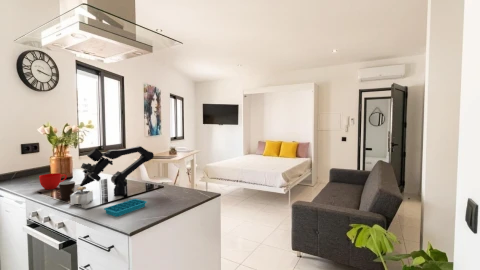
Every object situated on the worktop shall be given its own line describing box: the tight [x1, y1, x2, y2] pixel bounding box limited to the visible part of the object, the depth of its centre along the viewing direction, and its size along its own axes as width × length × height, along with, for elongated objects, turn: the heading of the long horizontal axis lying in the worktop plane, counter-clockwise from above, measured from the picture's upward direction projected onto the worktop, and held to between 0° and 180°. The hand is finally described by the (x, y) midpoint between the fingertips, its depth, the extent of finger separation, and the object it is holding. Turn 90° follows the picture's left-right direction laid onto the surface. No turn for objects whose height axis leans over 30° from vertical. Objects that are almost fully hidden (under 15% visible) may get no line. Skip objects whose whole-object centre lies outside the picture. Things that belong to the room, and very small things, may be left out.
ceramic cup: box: [38, 172, 68, 190], centre depth 182 cm, size 13×17×10 cm
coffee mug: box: [58, 180, 76, 200], centre depth 159 cm, size 12×9×10 cm
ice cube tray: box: [103, 198, 148, 218], centre depth 136 cm, size 12×20×3 cm, turn 151°
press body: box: [69, 189, 94, 206], centre depth 148 cm, size 9×12×6 cm
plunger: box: [76, 186, 87, 194], centre depth 149 cm, size 7×7×8 cm
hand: (80, 186), depth 148 cm, fingers closed
